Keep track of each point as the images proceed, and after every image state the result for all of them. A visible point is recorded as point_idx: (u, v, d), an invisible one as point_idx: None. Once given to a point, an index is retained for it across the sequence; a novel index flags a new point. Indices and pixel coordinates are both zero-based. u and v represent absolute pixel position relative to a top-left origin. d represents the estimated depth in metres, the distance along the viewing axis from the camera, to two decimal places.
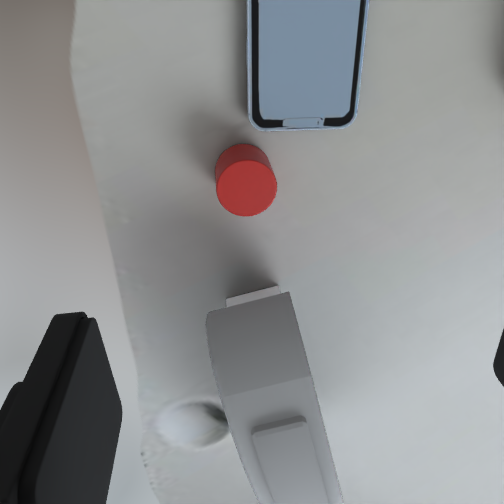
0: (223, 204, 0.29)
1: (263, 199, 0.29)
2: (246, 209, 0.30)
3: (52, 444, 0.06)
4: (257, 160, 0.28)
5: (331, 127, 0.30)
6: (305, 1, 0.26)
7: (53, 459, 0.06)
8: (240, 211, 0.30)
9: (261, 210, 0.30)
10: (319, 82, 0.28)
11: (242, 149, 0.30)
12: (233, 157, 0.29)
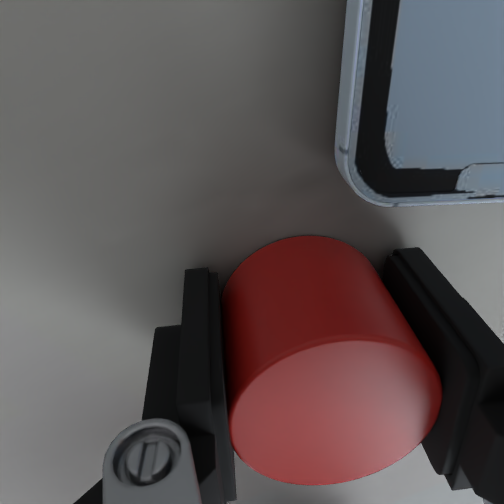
0: (250, 463, 0.08)
1: (388, 443, 0.08)
2: (327, 470, 0.09)
3: (221, 365, 0.08)
4: (385, 329, 0.07)
5: None
6: None
7: (223, 378, 0.08)
8: (306, 475, 0.09)
9: (376, 469, 0.09)
10: None
11: (311, 267, 0.09)
12: (288, 309, 0.08)
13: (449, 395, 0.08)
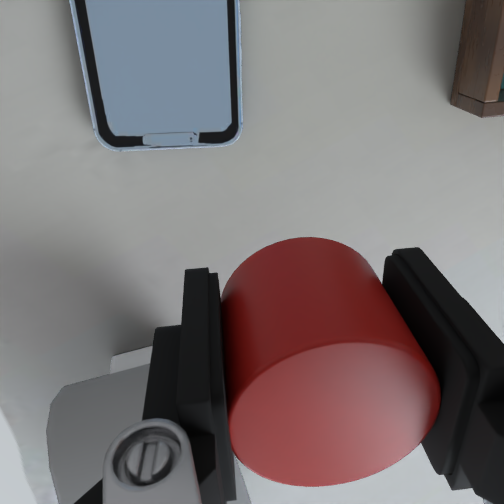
0: (249, 464, 0.08)
1: (387, 444, 0.09)
2: (326, 471, 0.09)
3: (221, 365, 0.08)
4: (384, 331, 0.07)
5: (211, 144, 0.23)
6: None
7: (223, 378, 0.08)
8: (305, 477, 0.09)
9: (375, 471, 0.09)
10: (184, 85, 0.21)
11: (310, 269, 0.09)
12: (287, 311, 0.08)
13: (449, 395, 0.08)
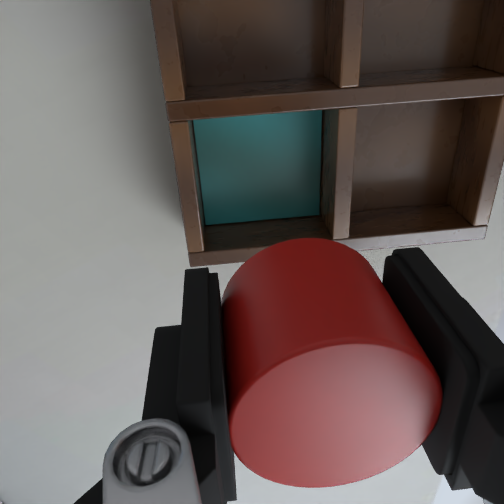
0: (250, 465, 0.08)
1: (388, 445, 0.09)
2: (327, 472, 0.09)
3: (221, 365, 0.08)
4: (385, 332, 0.07)
5: None
6: None
7: (223, 378, 0.08)
8: (307, 478, 0.09)
9: (376, 472, 0.09)
10: None
11: (311, 270, 0.09)
12: (288, 312, 0.08)
13: (449, 395, 0.08)
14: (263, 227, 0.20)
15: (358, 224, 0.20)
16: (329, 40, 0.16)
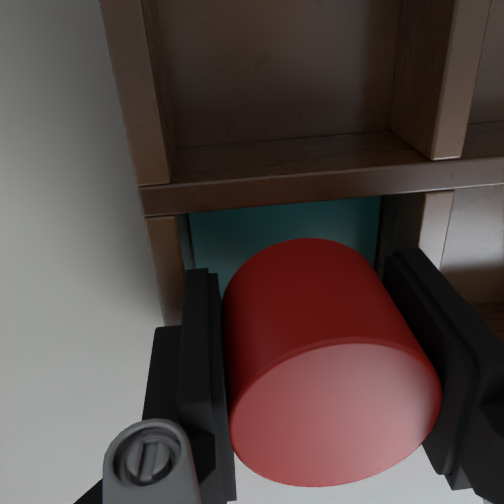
0: (251, 465, 0.08)
1: (389, 445, 0.09)
2: (327, 472, 0.09)
3: (221, 365, 0.08)
4: (386, 331, 0.07)
5: None
6: None
7: (223, 378, 0.08)
8: (307, 477, 0.09)
9: (376, 471, 0.09)
10: None
11: (312, 270, 0.09)
12: (289, 312, 0.08)
13: (449, 395, 0.08)
14: None
15: None
16: (407, 79, 0.10)
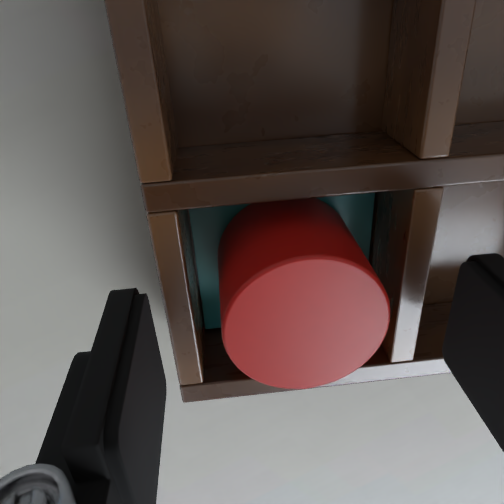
0: (240, 366, 0.11)
1: (349, 351, 0.11)
2: (302, 374, 0.11)
3: (126, 401, 0.07)
4: (343, 253, 0.10)
5: None
6: None
7: (127, 414, 0.07)
8: (285, 379, 0.11)
9: (341, 375, 0.11)
10: None
11: (289, 213, 0.11)
12: (269, 241, 0.10)
13: None
14: None
15: (422, 332, 0.14)
16: (398, 81, 0.10)
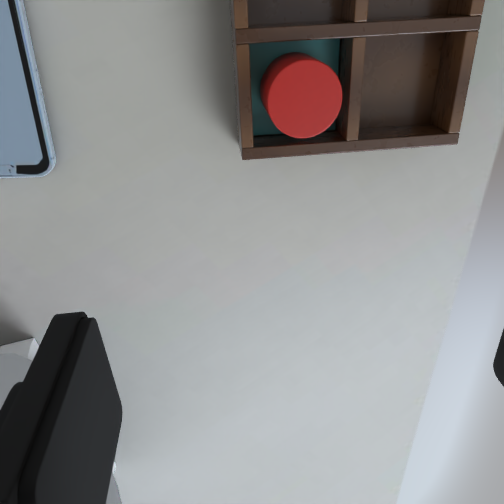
0: (274, 120, 0.23)
1: (324, 115, 0.24)
2: (302, 128, 0.24)
3: (52, 444, 0.06)
4: (320, 61, 0.22)
5: (29, 175, 0.27)
6: None
7: (53, 459, 0.06)
8: (295, 131, 0.24)
9: (321, 130, 0.24)
10: None
11: (297, 54, 0.24)
12: (288, 60, 0.23)
13: None
14: None
15: (364, 134, 0.27)
16: None
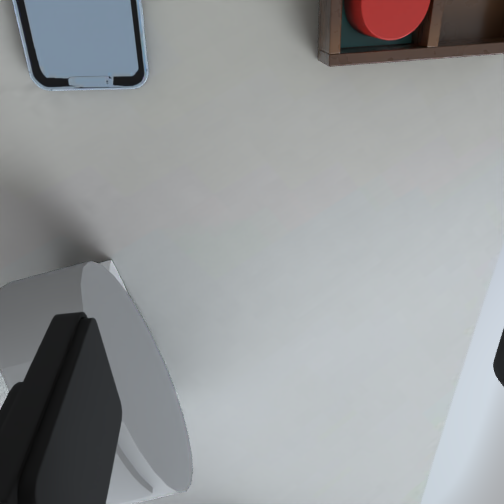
0: (366, 21, 0.25)
1: (412, 16, 0.25)
2: (391, 29, 0.25)
3: (52, 444, 0.06)
4: None
5: (124, 87, 0.29)
6: None
7: (53, 459, 0.06)
8: (384, 32, 0.25)
9: (408, 31, 0.25)
10: (98, 37, 0.27)
11: None
12: None
13: None
14: (374, 47, 0.28)
15: (441, 43, 0.28)
16: None
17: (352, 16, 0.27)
